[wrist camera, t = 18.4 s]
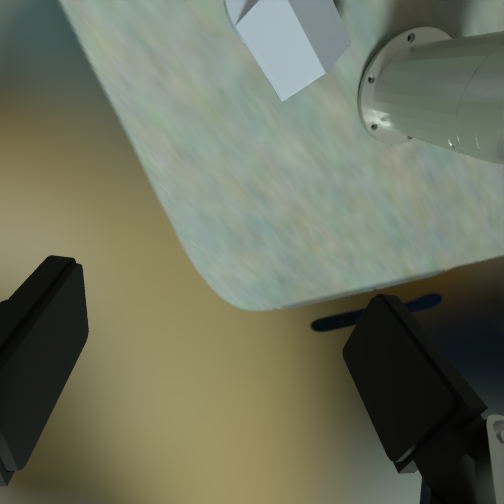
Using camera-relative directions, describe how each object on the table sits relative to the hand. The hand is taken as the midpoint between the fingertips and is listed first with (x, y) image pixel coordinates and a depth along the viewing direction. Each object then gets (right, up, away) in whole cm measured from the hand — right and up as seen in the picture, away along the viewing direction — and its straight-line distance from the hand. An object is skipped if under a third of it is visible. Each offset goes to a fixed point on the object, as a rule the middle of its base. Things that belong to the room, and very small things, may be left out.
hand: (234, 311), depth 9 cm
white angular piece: (+3, +28, +22) cm, 35 cm away
